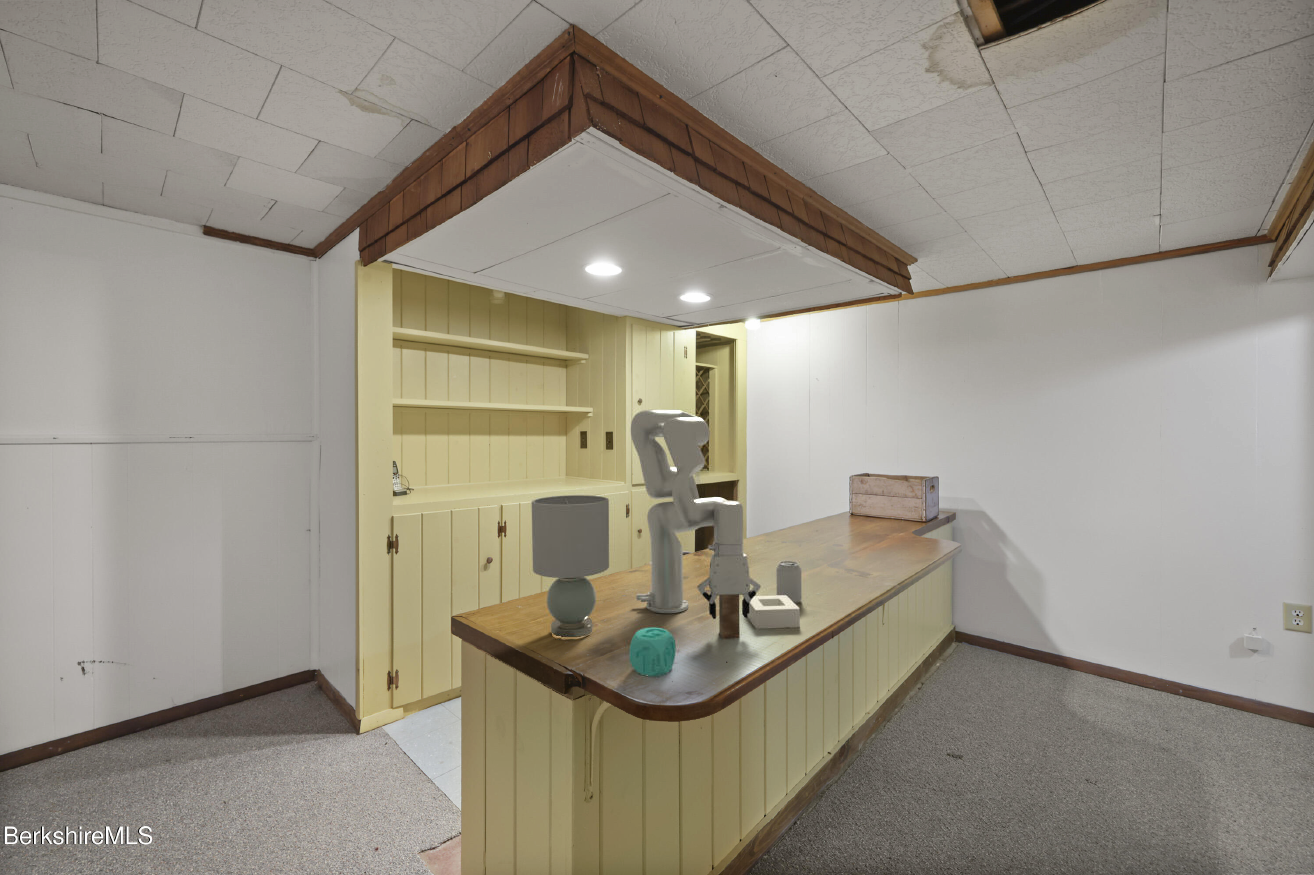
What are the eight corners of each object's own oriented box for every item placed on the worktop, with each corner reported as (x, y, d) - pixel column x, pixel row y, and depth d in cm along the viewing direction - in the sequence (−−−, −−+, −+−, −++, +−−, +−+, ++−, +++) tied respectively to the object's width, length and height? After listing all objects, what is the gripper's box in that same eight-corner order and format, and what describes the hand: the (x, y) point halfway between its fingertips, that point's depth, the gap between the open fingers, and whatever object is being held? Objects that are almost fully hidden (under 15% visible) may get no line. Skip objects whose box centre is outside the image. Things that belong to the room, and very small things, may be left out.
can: (802, 605, 166) (802, 566, 166) (776, 604, 168) (776, 565, 167) (800, 598, 173) (800, 560, 173) (776, 596, 175) (776, 559, 175)
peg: (722, 638, 141) (722, 592, 140) (719, 632, 145) (719, 587, 145) (739, 638, 141) (739, 591, 141) (735, 631, 145) (735, 586, 145)
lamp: (565, 654, 132) (563, 507, 131) (517, 633, 145) (516, 500, 145) (625, 631, 147) (624, 498, 146) (577, 614, 160) (576, 493, 160)
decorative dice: (629, 673, 121) (628, 637, 121) (644, 659, 129) (644, 625, 129) (662, 679, 118) (661, 642, 118) (676, 664, 126) (675, 630, 125)
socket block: (755, 628, 147) (755, 610, 147) (745, 613, 159) (745, 596, 159) (799, 627, 148) (799, 608, 148) (786, 612, 160) (786, 595, 160)
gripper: (697, 553, 138) (698, 623, 138) (765, 551, 139) (766, 620, 140) (693, 546, 146) (694, 613, 146) (758, 545, 147) (758, 610, 147)
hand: (729, 616), depth 143 cm, fingers open, 7 cm apart
